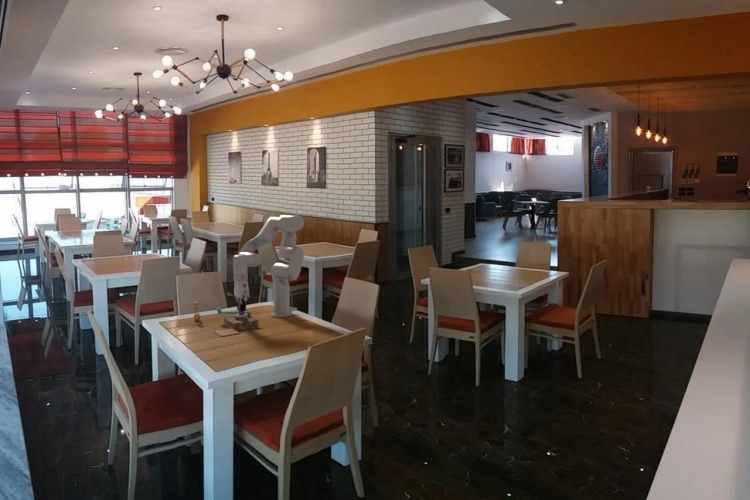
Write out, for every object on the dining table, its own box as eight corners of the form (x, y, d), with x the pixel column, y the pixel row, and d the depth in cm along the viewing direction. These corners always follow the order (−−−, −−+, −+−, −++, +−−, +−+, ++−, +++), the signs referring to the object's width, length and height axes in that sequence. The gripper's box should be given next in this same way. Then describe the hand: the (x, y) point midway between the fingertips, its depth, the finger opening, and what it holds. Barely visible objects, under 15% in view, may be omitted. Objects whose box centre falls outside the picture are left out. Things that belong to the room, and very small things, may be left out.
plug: (244, 321, 319) (244, 296, 317) (249, 323, 314) (248, 298, 312) (234, 323, 315) (233, 297, 313) (239, 325, 310) (238, 299, 308)
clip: (251, 313, 321) (251, 308, 320) (250, 314, 318) (250, 309, 318) (217, 312, 320) (217, 308, 320) (216, 313, 317) (216, 309, 317)
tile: (232, 329, 307) (231, 328, 307) (239, 333, 299) (239, 332, 299) (213, 332, 301) (213, 331, 301) (221, 336, 293) (221, 335, 293)
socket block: (247, 321, 324) (247, 312, 323) (258, 327, 313) (258, 317, 312) (223, 325, 316) (223, 315, 315) (234, 330, 304) (234, 320, 304)
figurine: (205, 319, 327) (204, 298, 326) (204, 322, 322) (203, 301, 320) (189, 320, 326) (189, 299, 324) (188, 322, 320) (188, 301, 318)
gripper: (253, 278, 307) (254, 312, 309) (240, 274, 320) (241, 306, 322) (240, 280, 302) (241, 314, 305) (228, 275, 315) (229, 308, 318)
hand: (241, 309), depth 314 cm, fingers closed on plug, 3 cm apart
